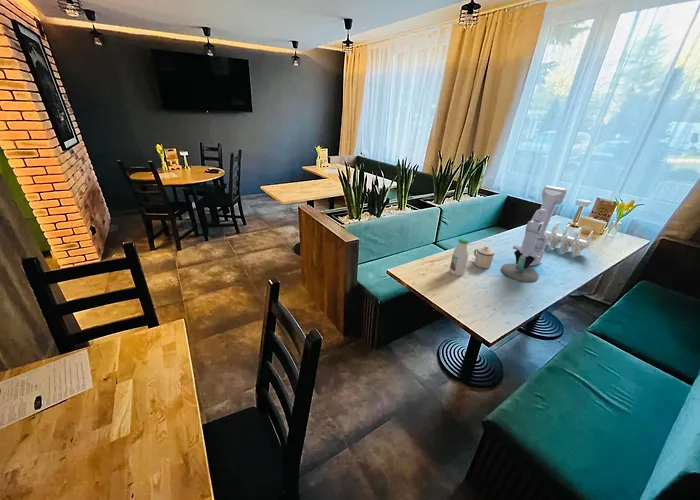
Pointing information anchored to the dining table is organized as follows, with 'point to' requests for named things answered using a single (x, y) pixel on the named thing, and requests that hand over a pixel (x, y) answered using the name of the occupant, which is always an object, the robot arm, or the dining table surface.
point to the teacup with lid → (483, 257)
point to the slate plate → (519, 273)
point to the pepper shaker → (521, 263)
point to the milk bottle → (459, 258)
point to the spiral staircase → (567, 240)
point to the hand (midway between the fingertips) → (521, 265)
